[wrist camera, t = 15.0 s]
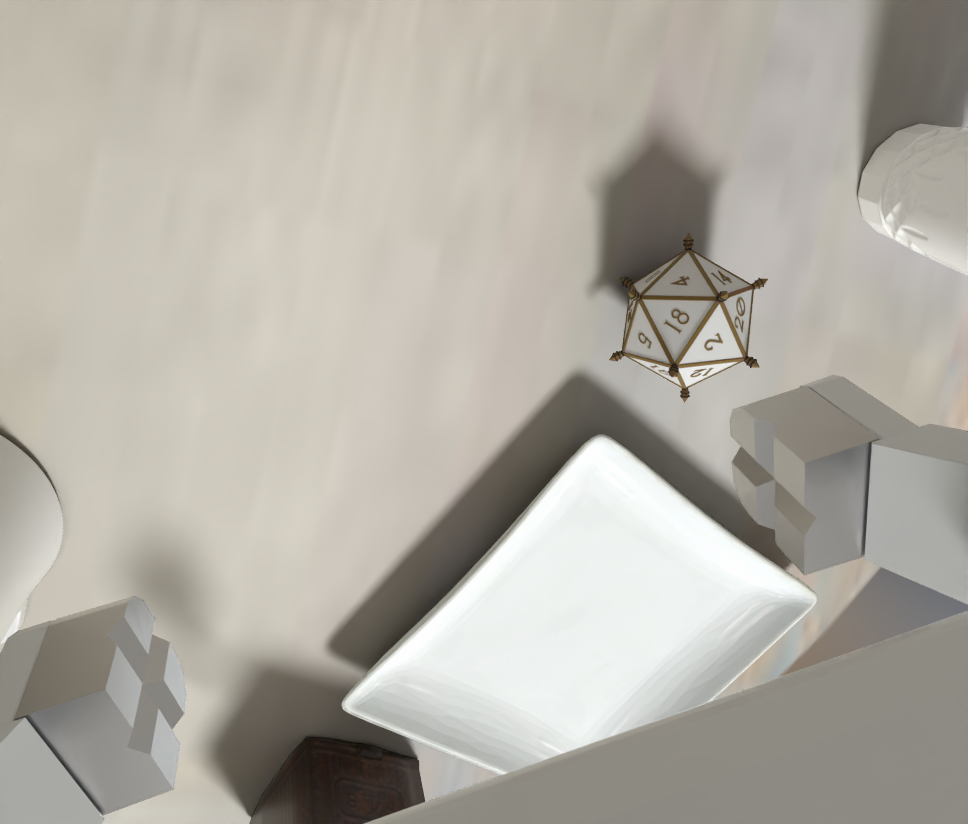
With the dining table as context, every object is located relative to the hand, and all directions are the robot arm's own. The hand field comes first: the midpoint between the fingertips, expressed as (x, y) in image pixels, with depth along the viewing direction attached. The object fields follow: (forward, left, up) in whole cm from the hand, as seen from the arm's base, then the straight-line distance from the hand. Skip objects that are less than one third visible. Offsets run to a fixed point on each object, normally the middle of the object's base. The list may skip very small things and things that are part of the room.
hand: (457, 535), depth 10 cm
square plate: (+8, -39, -35) cm, 53 cm away
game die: (+17, -14, -34) cm, 41 cm away
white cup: (+34, -11, -34) cm, 50 cm away
